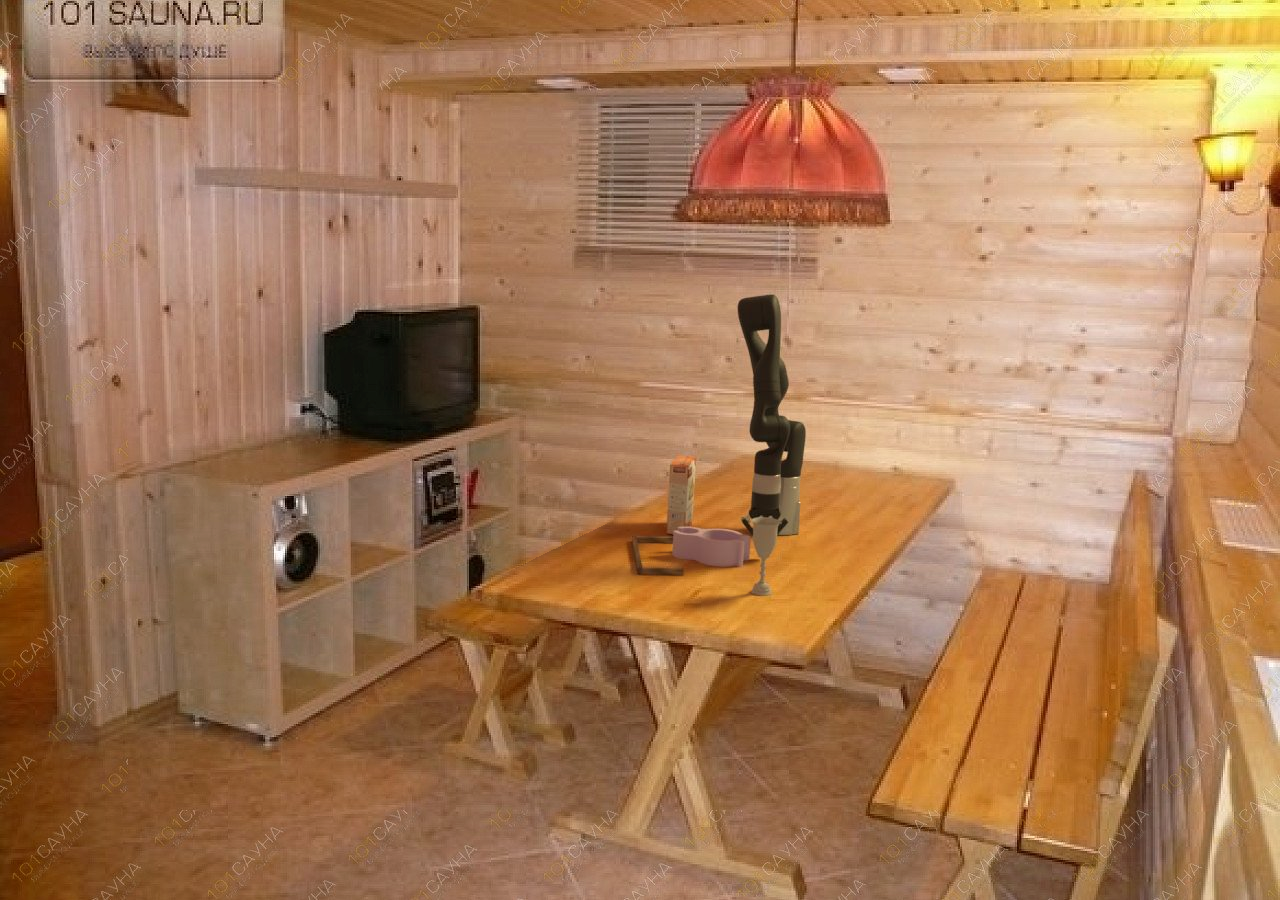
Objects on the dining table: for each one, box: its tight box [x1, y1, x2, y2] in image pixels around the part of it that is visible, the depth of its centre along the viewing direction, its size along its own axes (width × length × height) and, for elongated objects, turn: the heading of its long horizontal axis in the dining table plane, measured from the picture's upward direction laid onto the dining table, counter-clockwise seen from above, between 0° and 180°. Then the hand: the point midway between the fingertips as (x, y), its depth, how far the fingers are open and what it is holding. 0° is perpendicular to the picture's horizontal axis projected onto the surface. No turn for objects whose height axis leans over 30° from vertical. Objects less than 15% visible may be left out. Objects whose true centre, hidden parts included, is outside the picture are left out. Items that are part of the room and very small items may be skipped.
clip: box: [672, 526, 752, 568], centre depth 290 cm, size 20×12×7 cm, turn 70°
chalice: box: [750, 517, 780, 597], centre depth 263 cm, size 7×7×18 cm
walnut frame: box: [631, 535, 685, 576], centre depth 289 cm, size 12×30×2 cm, turn 3°
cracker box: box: [666, 455, 697, 536], centre depth 315 cm, size 14×6×21 cm, turn 168°
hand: (762, 552), depth 291 cm, fingers closed
